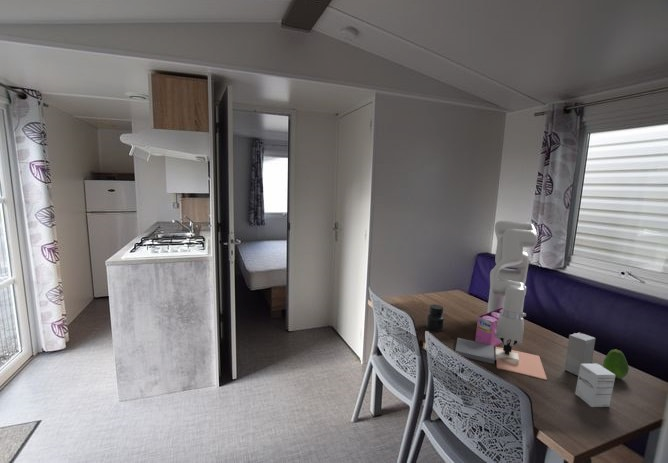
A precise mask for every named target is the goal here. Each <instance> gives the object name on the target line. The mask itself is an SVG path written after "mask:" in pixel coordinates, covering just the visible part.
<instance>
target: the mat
mask: <svg viewBox="0 0 668 463" xmlns="http://www.w3.org/2000/svg"><path fill="white" fill-rule="evenodd" d="M503 348H504V347H500V346H497V345H496V346H494V350H495V349H501V350H503ZM511 352H514V353H518V356H519V364H518V365H516V364H512V363H507V362H503V361H499V360H495V361H496V368H497V369H498V370H504V371H508V372H511V373H516V374H521V375H525V376H528V377H532V378H537V379H540V380H544V381H545V380H546V381H547V380H548V379H547V378H548V377H547V375H546V372H545V370H544V366H543V364H542V363H543V362H542V360H541V358H540V355H537V354H532V353H528V352H522V351H519V350H513V349H511Z"/></svg>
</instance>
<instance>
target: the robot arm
mask: <svg viewBox="0 0 668 463" xmlns="http://www.w3.org/2000/svg"><path fill="white" fill-rule="evenodd" d="M494 233H495V236H496V240H497V242H496V250H495V257H494V258H495V260H494V262H495V265H494V267H493V268H492V269H491V270H490V273H489V296H488V303H487V304H488V305H487V312H486V313H489V312H492V311H494V310H496V309H499V308H503V311H502V313H501V314H500V316H499V319H498V324H497V330H496V332H497V333H496V335H495V338H497V339H499V340H501V341H502V343H503V347H502V348H503V351H505V354H508V355H509V352H511V350H513V349H512V348H513V346H515V345H516V344H523V342H524V341H523V337H524V326H525V325H524V317H527V313H526V312H524V311H523V310H524V304H525V296H526V294H527V286H526V282H527V275H528V270H529V263H530V258H529V254H528V253H527V252H526V251H524V250H523V249H524V248H529V249H534V248H536V247H537V245H538V241H539V240H538V239H539V238H538V233H537V230H536V228H535V226H534V224H533V223H531V222H525V221H513V220H498V221H496V223H495V224H494ZM507 339H509V342H508V340H507Z"/></svg>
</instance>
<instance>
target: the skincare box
mask: <svg viewBox="0 0 668 463" xmlns="http://www.w3.org/2000/svg"><path fill="white" fill-rule="evenodd" d="M595 345H596V337H594V336H591V335H589V334H585V333H582V332H577V333H576V332H574V333H573V334H569V335H568V342H567V350H566V351H567V352H566V359H565V368H564V370H565V371H567V372H569V373H571V374H573V375H576V376H577V377H578V376H579V370H580V365H581V364H593V359H594V353H595Z"/></svg>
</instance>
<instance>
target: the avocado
mask: <svg viewBox="0 0 668 463" xmlns="http://www.w3.org/2000/svg"><path fill="white" fill-rule="evenodd" d="M602 367H604V368H605V369H607V370H609V371H610V372H612V373H613V374H615V375H616V376H615V379H623V378H625V377H626V376H627V375H628V373H629V364H628V361H627V359H626V356H625V354H624V353H623V352H622V350H618V349H617V348H616V349H610V351H609V352H608V353H607V354H606V356H605V357H604V359H603V364H602Z"/></svg>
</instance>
